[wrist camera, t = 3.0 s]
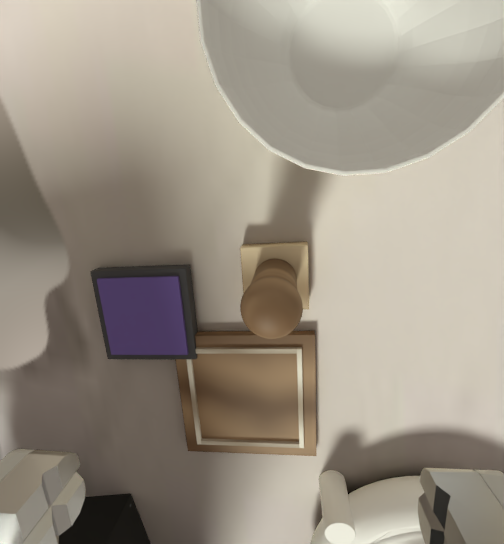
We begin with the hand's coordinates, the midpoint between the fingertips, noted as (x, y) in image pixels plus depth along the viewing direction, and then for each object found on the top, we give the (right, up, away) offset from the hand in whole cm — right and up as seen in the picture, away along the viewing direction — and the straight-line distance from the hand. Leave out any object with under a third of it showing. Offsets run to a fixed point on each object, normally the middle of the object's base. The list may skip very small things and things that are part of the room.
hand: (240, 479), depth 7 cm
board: (0, -6, +21) cm, 22 cm away
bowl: (+6, +19, +14) cm, 25 cm away
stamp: (+2, +5, +18) cm, 19 cm away
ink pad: (-8, +2, +20) cm, 22 cm away
